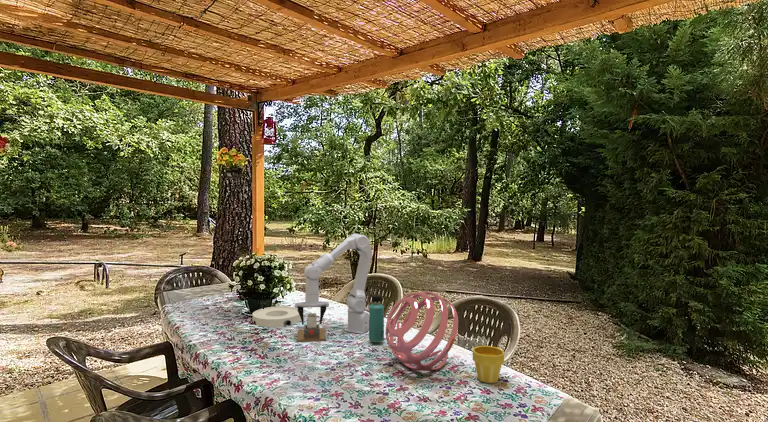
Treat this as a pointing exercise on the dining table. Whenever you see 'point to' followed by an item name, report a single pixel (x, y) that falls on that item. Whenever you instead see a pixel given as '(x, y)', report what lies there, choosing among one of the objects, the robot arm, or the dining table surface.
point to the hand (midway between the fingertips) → (311, 323)
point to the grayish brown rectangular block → (311, 321)
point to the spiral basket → (404, 347)
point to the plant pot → (488, 363)
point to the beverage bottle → (376, 320)
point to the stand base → (311, 334)
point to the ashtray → (276, 316)
